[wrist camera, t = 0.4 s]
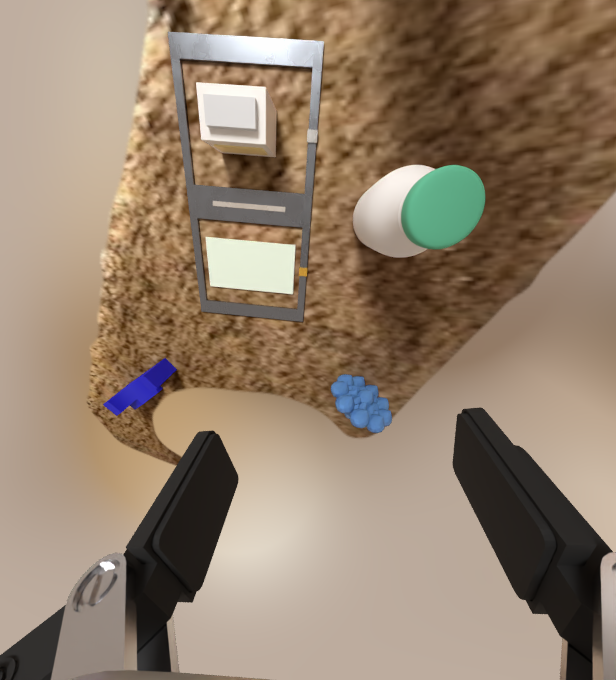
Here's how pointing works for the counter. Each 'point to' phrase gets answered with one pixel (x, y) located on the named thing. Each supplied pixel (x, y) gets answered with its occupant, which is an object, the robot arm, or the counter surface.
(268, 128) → the plug
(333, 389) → the grapes
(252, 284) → the port pad
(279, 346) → the counter surface
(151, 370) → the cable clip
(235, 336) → the counter surface
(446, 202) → the milk bottle
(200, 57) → the two-window grey frame
